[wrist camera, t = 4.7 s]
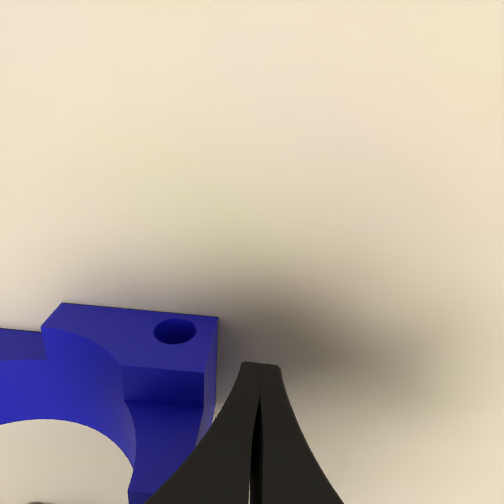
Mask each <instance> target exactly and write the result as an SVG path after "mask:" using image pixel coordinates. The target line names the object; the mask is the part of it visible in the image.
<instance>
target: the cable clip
mask: <svg viewBox="0 0 504 504" xmlns="http://www.w3.org/2000/svg"><path fill="white" fill-rule="evenodd" d="M41 331H42V333H41V332H30V331H20V330H9V329H0V425H1V424H6V423H10V422H16V421H23V420H33V419H56V420H66V421H71V422H76V423H79V424H82V425H85V426H88V427H90V428H93V429H95V430H97V431H99V432H101V433H102V434H104V435H105V436H107V437H108V438H109V439H111V440H112V441H113V442H114V443H115V444H116V445H117V446H118V447H119V448H120V449H121V450H122V451H123V452H124V454H125V455H126V457H127V458H128V459H129V461H130V463H131V465H132V467H133V474H132V478H131V481H130V484H129V488H128V499H129V504H143V503H144V502H145V501H146V500H147V499H148V498H149V497H150V496H152V495H153V494H154V493H155V492H156V491H157V490H158V489H159V488H160V487H161V485H162V484H163V483H164V482H165V481H166V480H167V479H168V478H169V477H170V476H171V475H172V474H173V473H174V472H175V471H176V470H177V469H178V468H179V467H180V465H181V464H182V463H183V462H184V461H185V459H186V458H187V457H188V456H189V455H190V453H191V452H192V451H193V450H194V448H195V447H196V446H197V445H198V443H199V442H200V441H201V439H202V438H203V437H204V435H205V434H206V432H207V431H208V429H209V428H210V426H211V425H212V420H213V414H214V409H215V397H216V366H217V334H218V317H209V316H198V315H187V314H176V313H165V312H154V311H144V310H133V309H122V308H111V307H100V306H89V305H78V304H67V303H61V304H60V305H59V306H58V307H57V309H56V310H55V311H54V312H53V313H52V314H51V315H50V316H49V318H48V319H47V320H46V321H45V322H44V323H43V324H42V326H41Z"/></svg>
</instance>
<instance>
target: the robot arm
mask: <svg viewBox="0 0 504 504" xmlns="http://www.w3.org/2000/svg"><path fill="white" fill-rule="evenodd" d="M249 481H250V504H344V503H343V502H342V500H341V499H340V497H339V496H338V494H337V493H336V491H335V490H334V489H333V487H332V486H331V484H330V483H329V481H328V479H327V478H326V476H325V474H324V473H323V471H322V469H321V468H320V466H319V464H318V462H317V461H316V459H315V457H314V455H313V453H312V452H311V450H310V448H309V446H308V444H307V442H306V440H305V438H304V435H303V433H302V431H301V429H300V427H299V424H298V422H297V420H296V417H295V415H294V412H293V410H292V407H291V405H290V402H289V399H288V396H287V393H286V390H285V386H284V383H283V379H282V375H281V369H280V368H279V367H278V366H277V365H269V364H261V363H254V362H246V361H245V362H243V363H242V364H241V368H240V371H239V374H238V377H237V379H236V382H235V384H234V386H233V388H232V390H231V392H230V394H229V396H228V398H227V400H226V402H225V404H224V405H223V407H222V409H221V411H220V412H219V414H218V415H217V417H216V419H215V420H214V422H213V423H212V425H211V426H210V428H209V429H208V431H207V432H206V434H205V435H204V437H203V438H202V439H201V441H200V442H199V443H198V445H197V446H196V447H195V448H194V450H193V451H192V452H191V453H190V455H189V456H188V457H187V458H186V459H185V461H184V462H183V463H182V464H181V465H180V467H179V468H178V469H177V470H176V471H175V472H174V473H173V474H172V475H171V476H170V477H169V478H168V479H167V480H166V481H165V482H164V483H163V484H162V485H161V487H160V488H159V489H158V490H157V491H156V492H155V493H154V494H153V495H152V496H150V497H149V498H148V499H147V500H146V501H145V502H144V503H143V504H248V501H249Z"/></svg>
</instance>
